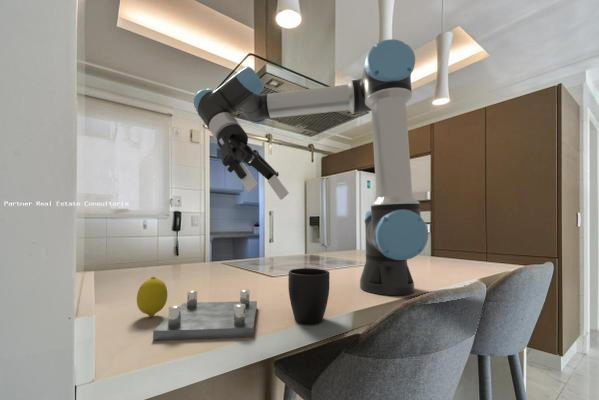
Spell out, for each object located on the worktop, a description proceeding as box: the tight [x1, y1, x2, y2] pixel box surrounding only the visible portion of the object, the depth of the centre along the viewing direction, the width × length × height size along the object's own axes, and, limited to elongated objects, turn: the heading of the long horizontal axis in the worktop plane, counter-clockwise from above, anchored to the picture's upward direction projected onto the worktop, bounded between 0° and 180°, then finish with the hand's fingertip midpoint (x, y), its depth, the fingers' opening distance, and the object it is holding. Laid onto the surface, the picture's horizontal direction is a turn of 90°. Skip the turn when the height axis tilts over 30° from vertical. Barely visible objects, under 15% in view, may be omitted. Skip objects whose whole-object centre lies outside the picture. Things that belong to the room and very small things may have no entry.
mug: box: [287, 267, 330, 326], centre depth 57 cm, size 8×12×10 cm
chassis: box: [152, 288, 258, 341], centre depth 54 cm, size 16×16×4 cm
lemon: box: [136, 276, 168, 318], centre depth 57 cm, size 6×6×8 cm
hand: (270, 192), depth 66 cm, fingers open, 13 cm apart
